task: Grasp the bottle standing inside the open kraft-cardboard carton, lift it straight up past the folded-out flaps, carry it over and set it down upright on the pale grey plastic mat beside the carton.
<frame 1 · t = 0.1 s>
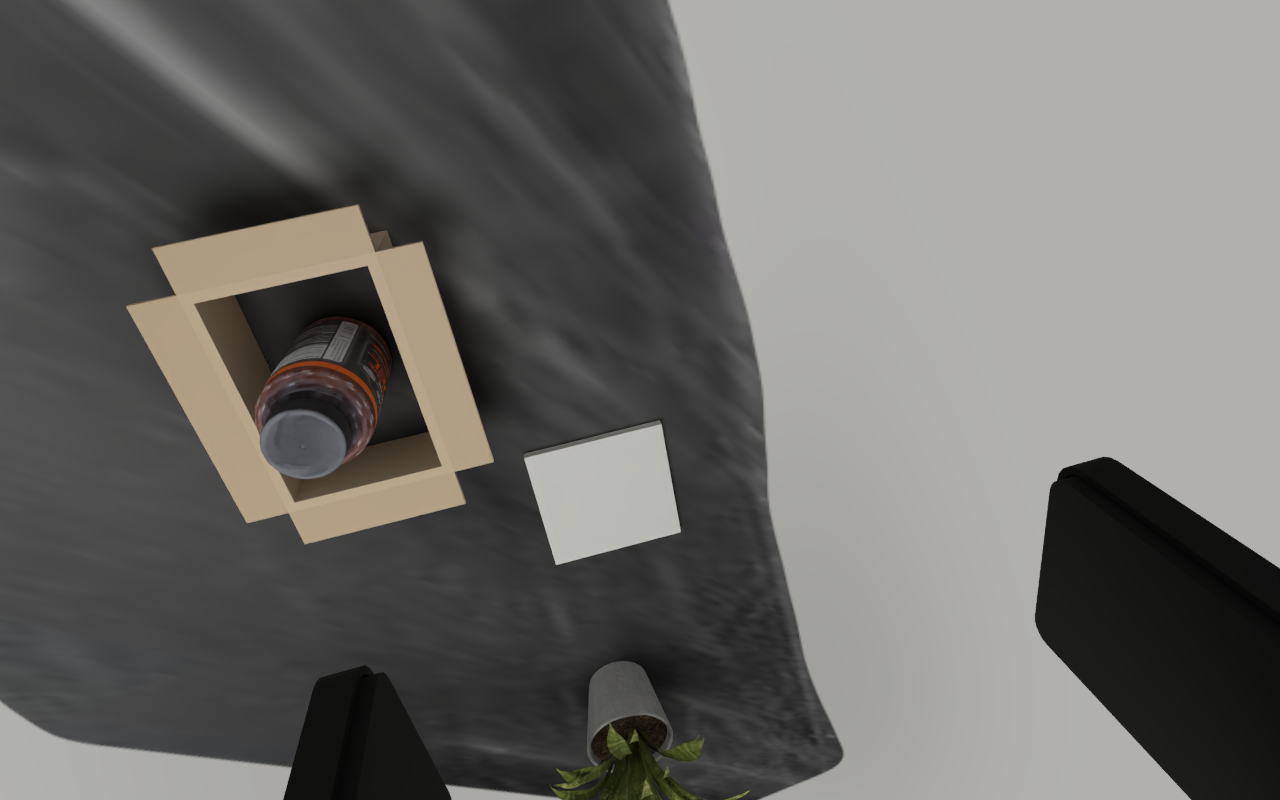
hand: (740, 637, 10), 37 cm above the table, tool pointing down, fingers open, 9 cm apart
mat: (605, 492, 53), on the table
house plant: (624, 669, 62), on the table
supplement bottle: (345, 356, 44), resting in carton
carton: (344, 357, 44), on the table
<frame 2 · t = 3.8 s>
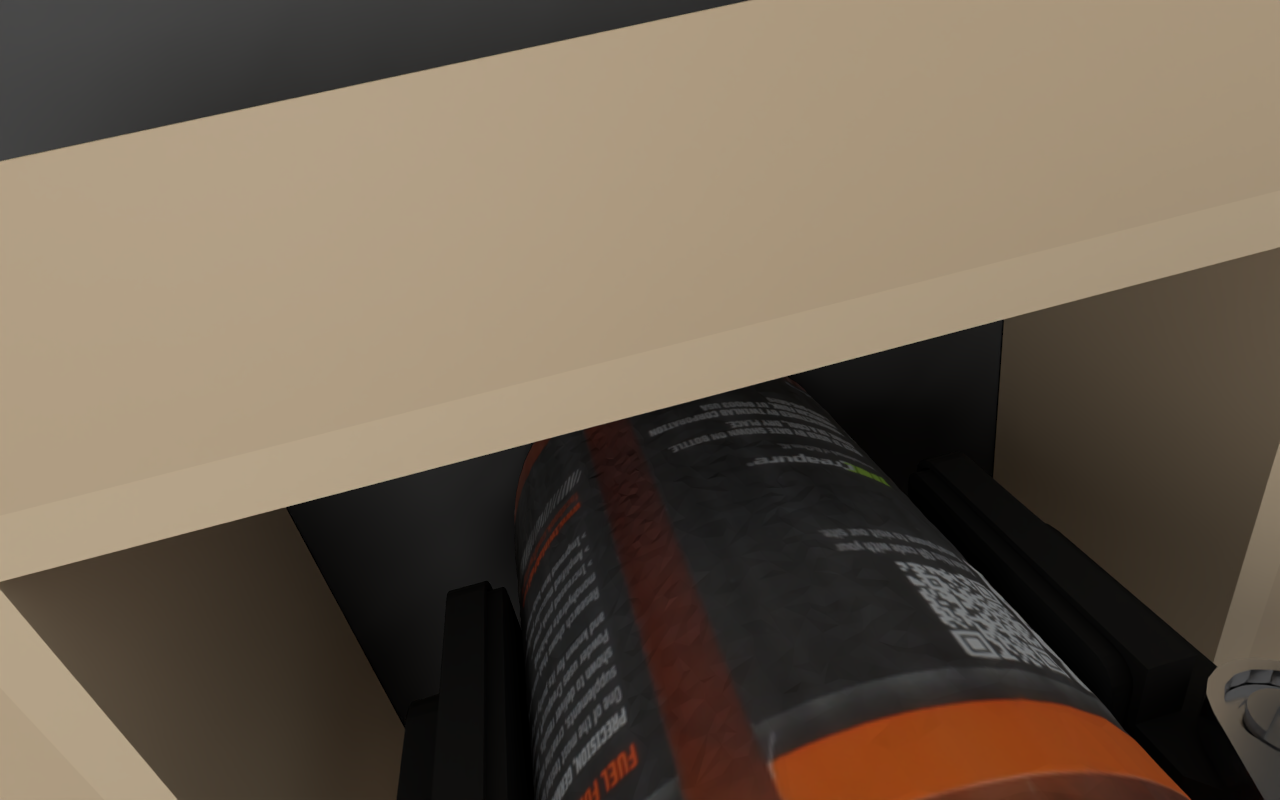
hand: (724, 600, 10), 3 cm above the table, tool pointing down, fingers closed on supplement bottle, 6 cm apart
supplement bottle: (672, 478, 13), resting in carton, touching gripper
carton: (675, 485, 13), on the table
when the fingers open (5 cm above the table, at t = 11.3 s): supplement bottle drops 1 cm, resting on mat.
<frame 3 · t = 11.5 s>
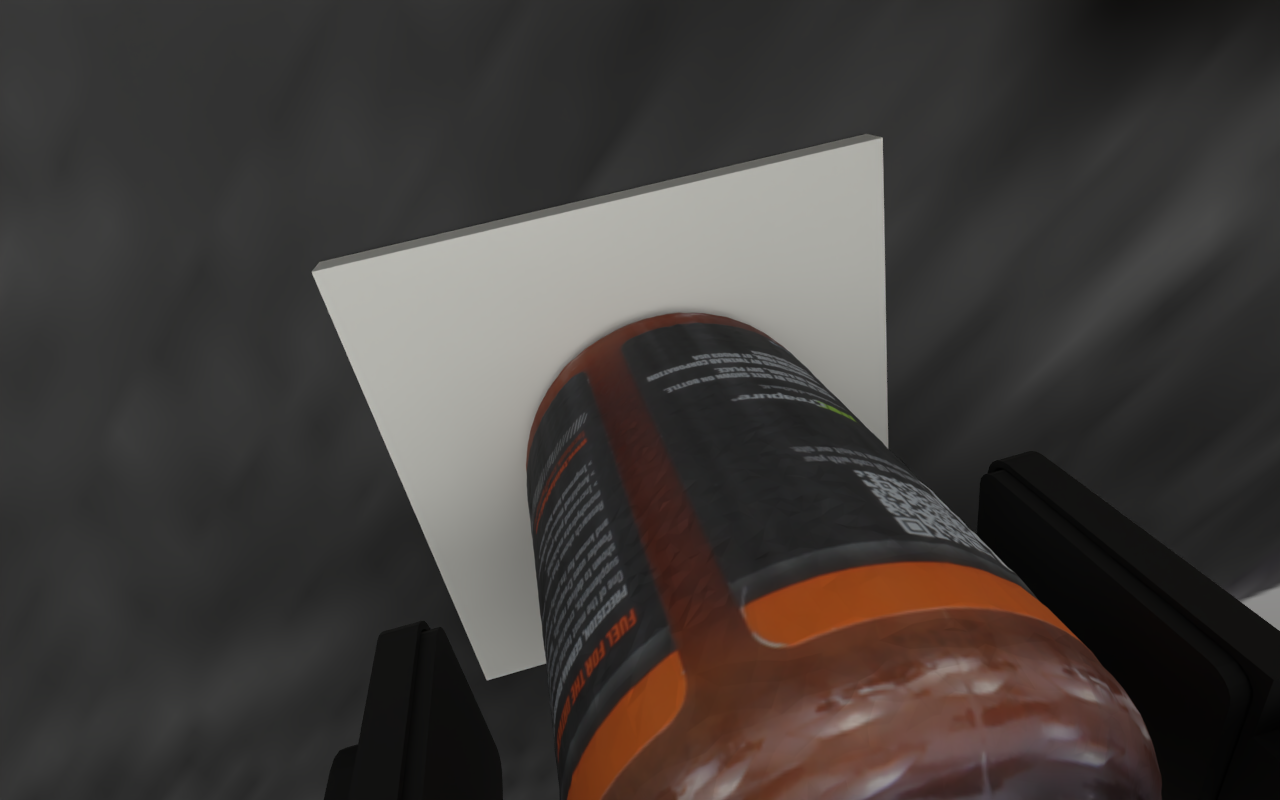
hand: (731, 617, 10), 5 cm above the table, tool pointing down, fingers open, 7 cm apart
mat: (651, 432, 15), on the table
supplement bottle: (669, 436, 14), resting on mat
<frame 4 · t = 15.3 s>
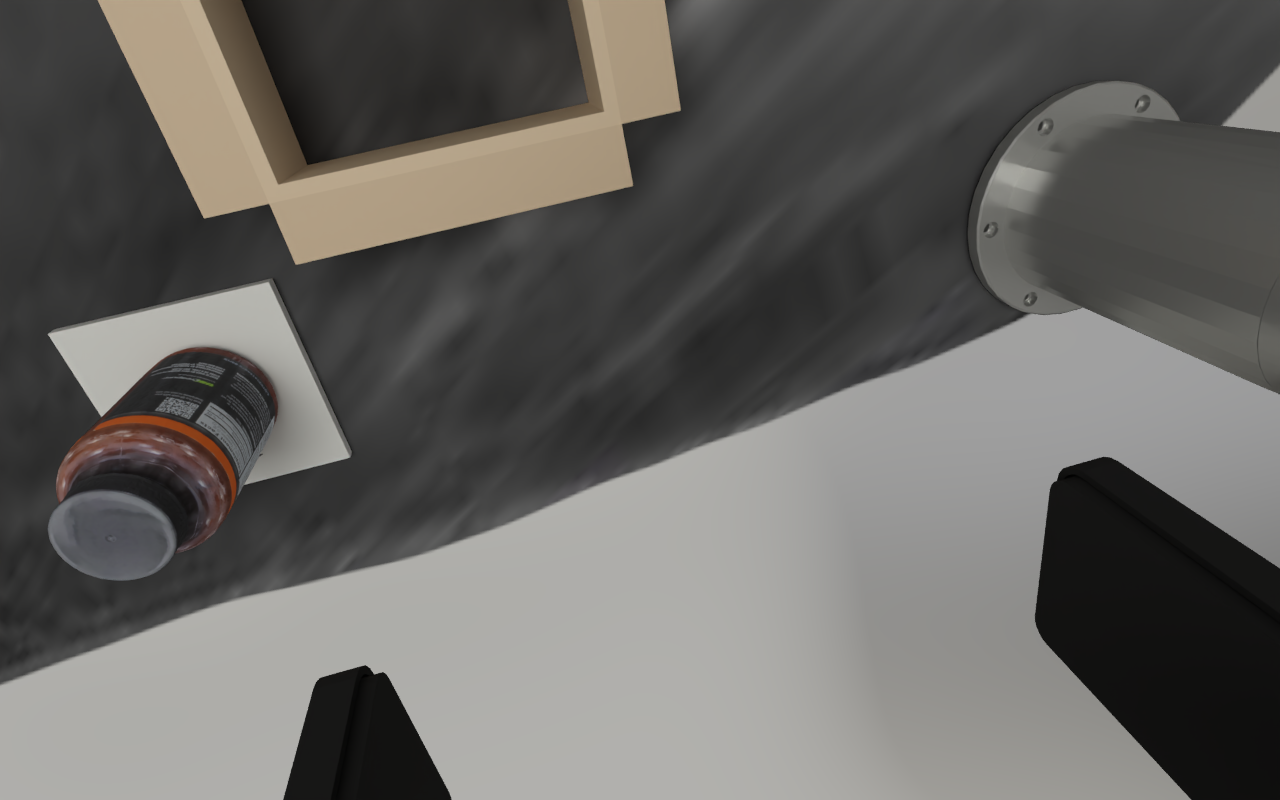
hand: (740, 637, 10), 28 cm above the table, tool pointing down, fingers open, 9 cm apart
mat: (215, 395, 35), on the table
supplement bottle: (218, 396, 35), resting on mat
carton: (417, 23, 30), on the table
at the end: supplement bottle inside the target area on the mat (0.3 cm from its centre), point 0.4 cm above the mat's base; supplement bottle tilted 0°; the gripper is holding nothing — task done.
